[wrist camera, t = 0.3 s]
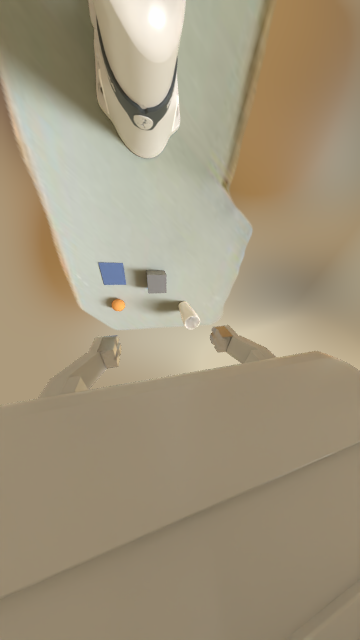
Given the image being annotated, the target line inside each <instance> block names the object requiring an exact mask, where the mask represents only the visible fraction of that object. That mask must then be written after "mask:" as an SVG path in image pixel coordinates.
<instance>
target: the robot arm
mask: <svg viewBox="0 0 360 640" xmlns="http://www.w3.org/2000/svg"><path fill="white" fill-rule="evenodd" d="M88 4H89V12H90V19H91V23H92V25H93V27H94V50H95V69H96V92H97V100H98V104H99V106H100V108H101V109H102V111H103V112H104V113H105V114H106V115H107V116H108V118H109V119H110V120H111V121H112V123H113V124H114V126H115V128H116V130H117V132H118V134H119V136H120V138H121V139H122V141H123V142H124V144H125V145H126V146H127V147H128V148H129V149H130V150H131V151H132V152H133V153H135V154H136V155H138V156H140V157H143V158H153V157H155V156H157V155H158V154H160V153H161V152H162V150H163V149H164V148H165V146H166V144H167V142H168V139H169V138H170V136H171V135H172V134H173V133H175V132H176V131H177V130H178V128H179V125H180V111H179V97H178V82H177V54H178V49H179V43H180V38H181V33H182V27H183V22H184V15H185V5H186V0H88ZM101 90H102V91H103V94H102V92H101ZM210 340H211V343H212V344H214V345H215V349H216V351H217V352H227V353H228V354H229V355H231V356H232V357H234V358H235V359H236V360H238V361H239V362H240V363H242V364H237V365H231V366H226V367H220V368H214V369H208V370H202V371H196V372H190V373H184V374H179V375H173V376H167V377H161V378H155V379H149V380H144V381H138V382H133V383H126V384H121V385H115V386H109V387H103V388H97V389H92V390H89V389H90V388H91V387H92V385H93V384H94V383H95V382H96V381H97V380H98V378H99V377H100V376H101V375H102V374H103V373H104V371H105V370H106V369H108V368H113V367H118V366H119V360H120V359H119V356H120V355H121V344H120V343H119V337H118V336H117V335H116V336H104V337H96V338H95V339H94V341H93V343H92V346H91V348H90V350H89V352H88V353H86V354H84V355H83V356H82V357H80V358H79V359H77V360H76V361H74V362H73V363H72V364H71V365H69V366H68V367H66V368H65V369H64V370H62V371H61V372H60V373H58V374H57V375H55V376H54V377H53V378H51V379H50V381H49V382H48V384H47V385H46V387H45V388H44V390H43V391H42V393H41V394H40V396H39V397H38V399H33V400H28V401H22V402H16V403H10V404H5V405H0V640H360V371H359V370H358V369H357V368H355V367H353V366H352V365H350V364H348V363H347V362H344V361H342V360H340V359H338V358H335V357H333V356H330V355H328V354H325V353H321V352H318V351H312V352H307V353H301V354H295V355H289V356H283V357H275V356H274V355H273V354H272V353H271V352H270V351H269V350H268V349H267V348H265V347H263V346H261V345H259V344H257V343H255V342H253V341H250V340H248V339H246V338H244V337H242V336H238V335H237V333H236V332H235V331H234V330H233V329H232V328H231V327H230V326H229V325H224V326H217V327H213V328H212V333H211V335H210Z"/></svg>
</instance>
